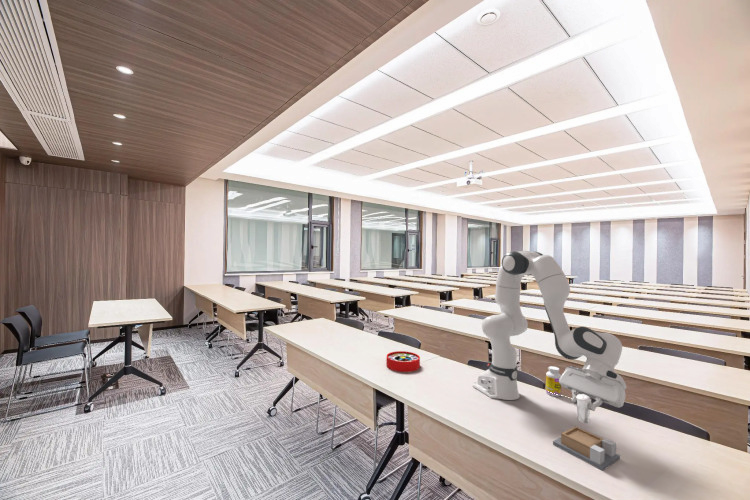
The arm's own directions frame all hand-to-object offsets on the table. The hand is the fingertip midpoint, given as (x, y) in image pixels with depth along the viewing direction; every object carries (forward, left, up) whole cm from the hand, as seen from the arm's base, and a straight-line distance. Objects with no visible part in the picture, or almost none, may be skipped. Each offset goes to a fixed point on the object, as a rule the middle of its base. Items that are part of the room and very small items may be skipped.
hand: (582, 406), depth 114 cm
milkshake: (0, +1, -6) cm, 6 cm away
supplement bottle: (-31, +37, -16) cm, 51 cm away
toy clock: (-98, -6, -16) cm, 99 cm away
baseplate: (+1, +1, -16) cm, 16 cm away
